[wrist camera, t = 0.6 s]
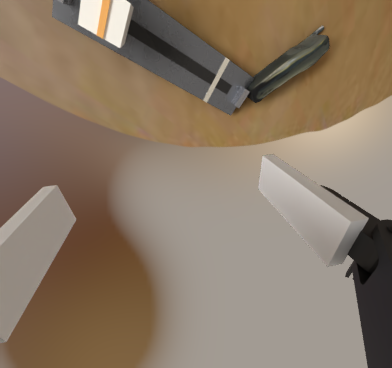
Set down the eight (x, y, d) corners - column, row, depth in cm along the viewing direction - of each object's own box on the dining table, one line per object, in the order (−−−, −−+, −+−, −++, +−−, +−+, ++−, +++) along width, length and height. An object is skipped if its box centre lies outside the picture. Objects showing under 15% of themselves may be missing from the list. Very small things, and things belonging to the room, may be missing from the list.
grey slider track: (63, -60, 19) (49, -75, 16) (249, 76, 32) (259, 81, 29) (58, 17, 23) (45, 16, 20) (227, 111, 36) (234, 119, 33)
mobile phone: (257, 107, 32) (345, 42, 27) (250, 93, 30) (344, 21, 25) (246, 98, 35) (322, 39, 31) (240, 85, 33) (320, 20, 29)
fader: (97, -18, 20) (83, -30, 16) (133, 7, 22) (130, 3, 17) (91, 24, 22) (77, 24, 18) (124, 43, 24) (119, 48, 19)
